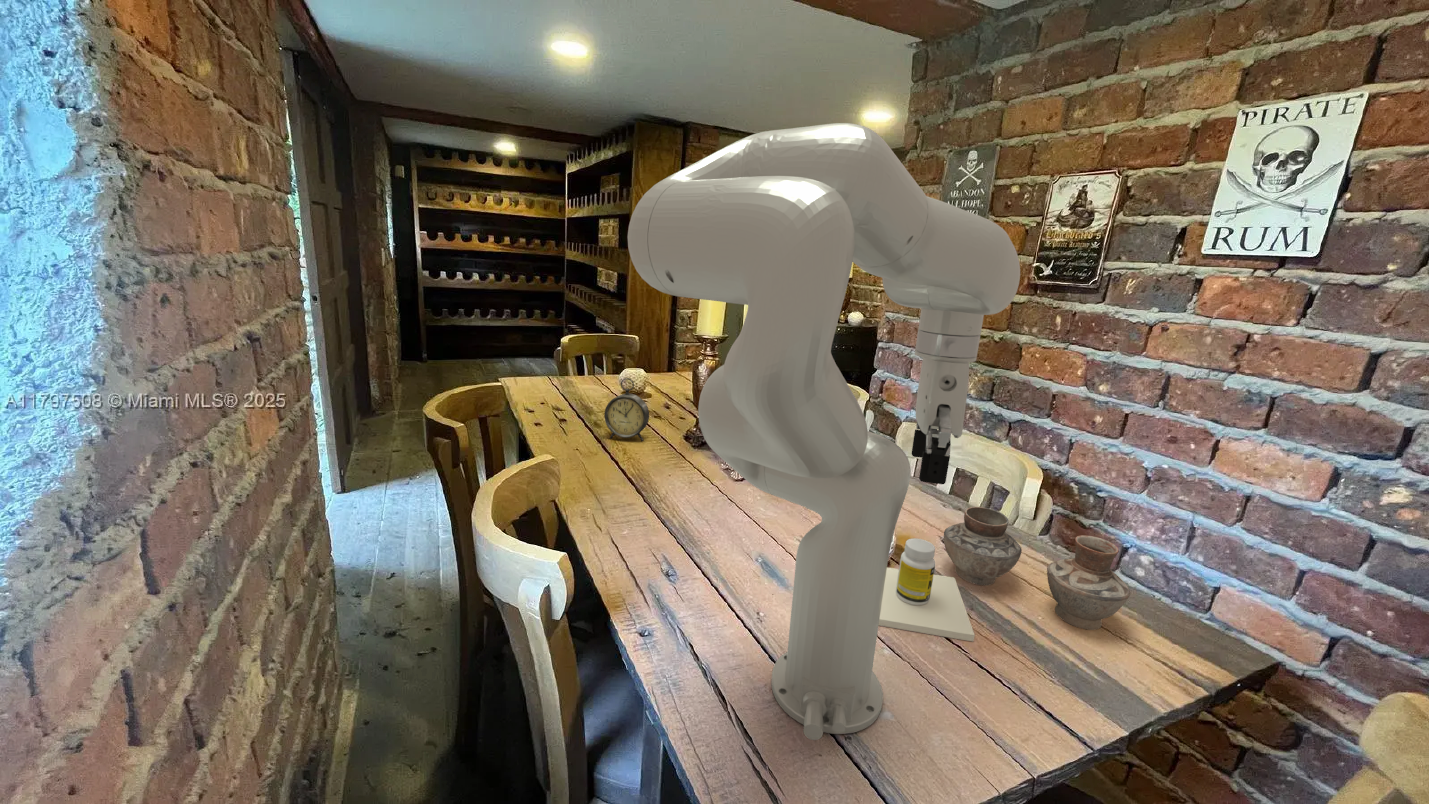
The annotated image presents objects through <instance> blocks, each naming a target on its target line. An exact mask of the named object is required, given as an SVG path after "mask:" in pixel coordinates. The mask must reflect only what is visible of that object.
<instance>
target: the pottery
mask: <svg viewBox="0 0 1429 804" xmlns="http://www.w3.org/2000/svg"><path fill="white" fill-rule="evenodd" d="M1009 522H1010V521H1009V518H1008V516H1006V515H1005V514H1004V513H1002V512H1000V511H998V510H995V509H992V508H989V507H985V506H984V507H983V506H971V507H967V508H966V509H965V510H964V514H963V522H960V523H956V524H952V525H951V526H948V527H946V528H945V530H943V544H944V549H945V551H946V553H947V555H948V558H950V561H952V563H953V564H954V565H955V573H956V574H957V575H958V576H959V577H960V578H961V579H962V580H964V581H966V582H968V583H970V584H974V585H977V586H992V584H994V583H995V581H996V579H998V578H999V577H1002V576H1003V575H1005V574H1006V573H1008V572H1010V571H1011V570H1012V569H1013V568H1014V567H1015V565H1016V564H1017V563H1018V562H1019V559H1020V558H1021V555H1022V550H1023V549H1022V547H1021V545H1020V544H1019V542H1018V541H1017V540H1016V539H1015V538H1013V536H1011V535H1010V534H1009V533H1007V532H1006V530H1007V528H1008V525H1009ZM1074 540H1075V552H1074V553H1075V555H1074V558H1073V557H1072V558H1063V559H1059V560H1056V561H1053V562H1051V563H1049V564H1048V566H1047V567H1046V574H1047V583H1048V587H1049V590H1050V591H1049V592H1050V593H1051V595H1052V598H1053V599H1054V600H1055V602H1056V606H1055V607H1054V611H1055V613H1056V615H1057V617H1059V618H1060V619H1062V621H1064V622H1065V623H1066V624H1069V625H1071V626H1073V627H1076V628H1078V627H1079V629H1082V628H1083V630H1088V631H1094V630H1099V629H1101V627H1102V624H1103V622H1102V620H1104V619H1106V618H1110V617H1112V616H1114V615H1115V614H1116V613H1117V612H1118V611H1119V610H1121V609H1122V607H1124V605H1125V603H1126V602H1127V601H1128V600H1129V598H1130V596H1131V591H1130V589H1129V586H1128V585H1127V584H1126V582H1125V581H1123V579H1122V578H1121V577H1120V576H1119V575H1117V574H1116V573H1115V572H1114V571H1113V570H1111V566H1112V564H1113V561H1114V559H1115V558H1116V556H1118V555H1117V554H1118V553H1119V548H1118V546H1117V545H1115V544H1114V543H1112V542H1110V541H1109V540H1106V539H1104V538H1100V537H1097V536H1092V535H1082V534H1081V535H1077V536H1076V537H1075V539H1074Z"/></svg>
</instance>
